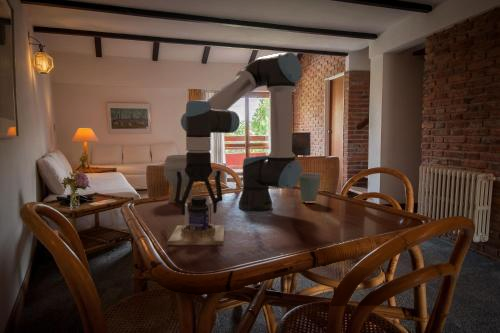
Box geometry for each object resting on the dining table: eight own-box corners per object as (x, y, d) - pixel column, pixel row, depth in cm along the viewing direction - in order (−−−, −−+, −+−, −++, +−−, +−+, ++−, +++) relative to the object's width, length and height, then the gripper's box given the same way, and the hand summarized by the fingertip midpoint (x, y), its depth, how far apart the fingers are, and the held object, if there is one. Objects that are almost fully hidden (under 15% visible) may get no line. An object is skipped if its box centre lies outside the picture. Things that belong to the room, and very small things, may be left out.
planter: (182, 197, 162) (182, 154, 160) (205, 201, 153) (205, 155, 151) (157, 202, 149) (156, 155, 147) (180, 206, 140) (179, 156, 138)
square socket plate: (224, 228, 107) (224, 220, 107) (223, 244, 92) (223, 234, 91) (177, 228, 107) (177, 220, 106) (167, 244, 91) (167, 234, 90)
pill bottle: (210, 234, 97) (210, 199, 96) (190, 236, 95) (190, 200, 94) (206, 228, 103) (206, 195, 102) (187, 230, 101) (187, 196, 100)
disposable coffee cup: (297, 200, 158) (298, 170, 157) (319, 201, 157) (320, 171, 156) (298, 204, 148) (299, 173, 146) (321, 205, 146) (322, 173, 145)
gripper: (227, 150, 103) (227, 218, 105) (164, 151, 97) (165, 223, 99) (233, 152, 96) (232, 225, 98) (165, 152, 90) (166, 229, 92)
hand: (198, 223), depth 99 cm, fingers open, 7 cm apart
